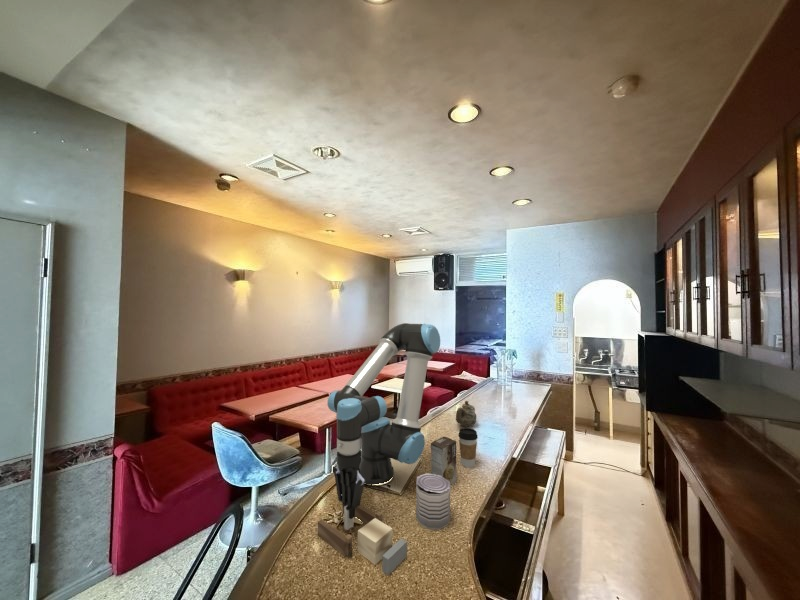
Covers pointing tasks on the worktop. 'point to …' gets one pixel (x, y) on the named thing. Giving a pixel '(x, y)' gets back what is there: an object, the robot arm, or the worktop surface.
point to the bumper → (394, 556)
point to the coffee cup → (468, 446)
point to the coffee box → (444, 459)
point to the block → (374, 540)
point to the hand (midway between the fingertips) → (348, 526)
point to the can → (432, 501)
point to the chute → (339, 539)
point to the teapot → (466, 415)
